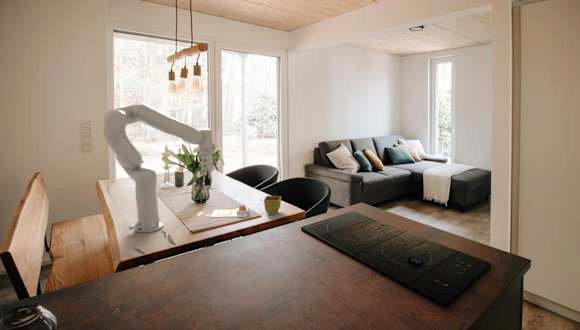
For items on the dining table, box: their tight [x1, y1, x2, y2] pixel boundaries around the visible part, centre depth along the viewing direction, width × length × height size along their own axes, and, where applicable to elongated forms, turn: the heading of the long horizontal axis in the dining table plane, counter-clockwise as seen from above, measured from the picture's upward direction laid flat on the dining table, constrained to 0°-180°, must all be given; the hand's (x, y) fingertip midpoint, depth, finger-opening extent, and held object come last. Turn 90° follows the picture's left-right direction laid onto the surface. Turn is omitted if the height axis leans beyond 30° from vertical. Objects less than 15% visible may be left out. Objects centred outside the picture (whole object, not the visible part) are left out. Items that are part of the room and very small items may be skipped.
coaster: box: [196, 211, 212, 217], centre depth 177 cm, size 7×7×1 cm
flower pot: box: [263, 195, 282, 215], centre depth 178 cm, size 9×9×9 cm
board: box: [209, 206, 249, 218], centre depth 177 cm, size 20×12×3 cm, turn 93°
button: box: [238, 204, 246, 210], centre depth 177 cm, size 3×3×3 cm
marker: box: [204, 172, 212, 190], centre depth 174 cm, size 4×4×11 cm
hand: (208, 184), depth 174 cm, fingers closed on marker, 3 cm apart
